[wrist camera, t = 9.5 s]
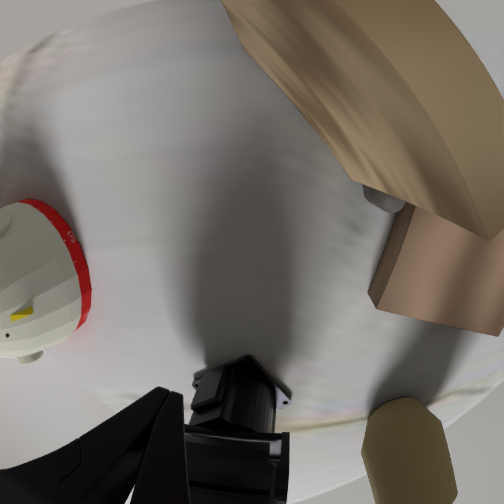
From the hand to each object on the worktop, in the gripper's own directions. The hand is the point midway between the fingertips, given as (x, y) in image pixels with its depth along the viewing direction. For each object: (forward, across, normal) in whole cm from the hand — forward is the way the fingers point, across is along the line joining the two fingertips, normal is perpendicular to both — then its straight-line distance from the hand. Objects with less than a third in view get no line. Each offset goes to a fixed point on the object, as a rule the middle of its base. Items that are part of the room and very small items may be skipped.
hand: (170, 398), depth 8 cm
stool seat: (+13, -16, -7) cm, 22 cm away
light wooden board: (+13, -3, -11) cm, 17 cm away
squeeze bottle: (+13, -19, +12) cm, 26 cm away
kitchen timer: (+13, +19, +7) cm, 24 cm away
